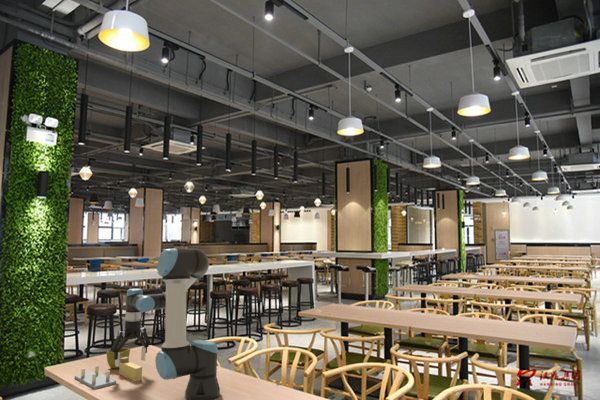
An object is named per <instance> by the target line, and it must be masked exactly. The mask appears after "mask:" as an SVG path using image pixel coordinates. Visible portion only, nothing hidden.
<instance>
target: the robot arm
mask: <svg viewBox="0 0 600 400" xmlns="http://www.w3.org/2000/svg"><path fill="white" fill-rule="evenodd" d="M209 266H210V260H209V257H208V255H207V254H206V252H204V250H201V249H199V248H193V247H192V248H181V247H180V248H166V249H164V250H162V252H161V253H160V254H159V257H158V259H157V264H156V270H157V273H158V276H160V277H162V278H161V279H162V281H163V283H165V291H164V293H158V294H157V293H156V294H155V293H154V294H143V293H144V292H143V289H142V288H129V289H127V291H126V299H125V300H126V301H125V318H124V320H125V321H124V331H121V330H119V331H118V332H117V336H116V338H115V340H114V342H113V344H112V346H111V348H110V349H109V350H110V351H111V352H114V359H115V366H117V367H119V362H120V353H119V351H120V349H121V348H124V345H125V344H126V343H127V342H128V341H129V340H134V339H137V340H138V341H139V343H141V345H142V346H141V355H140V360H141V361H144V362H145V361H146V354H147V353H148V348H149V346H151V345H152V342H151V339H150V338H149V335H148V333H147V328H146V327H143V326H142V327H141V325H142V323H141V322H142V320H141V319H142V313H148V312H151V311H153V310H154V311H155V310H163V309H165V325H164V326H165V329H164V330H165V331H164V332H165V335H164V342H163V343H162V344H161V345H160V346H161V349H160V351H158V352H157V353H156V354H155V355H156V356H155V360H154V361H155V367H156V371H157V373H158V375H159V377H160V378H162V379H163V380H166V381H167V380H175V379H177V378H181V377H185V376H189V379H188V383H187V384H186V388H185V391H184V398H185V399H186V400H214V399H215V400H216V399H218V398H219V396H221V395H220V393H221V388H220V385H219V380H218V377H217V375H218V373H217V372H218V371H217V370H218V354H219V352H218V345H217V343H215V342H213V341H210V340H204V339H203V340H201V339H199V340H197V339H195V340H192V341H191V342H189V341H188V340H187V290H188V289H190V287H191V286H192V285H194V283H195V282H196V281H197V280H198V279H201V278H202V277H203V276H205V274H206V273H207V272H208V269H209ZM140 333H141V334H142V335H140ZM142 336H143V338H142Z"/></svg>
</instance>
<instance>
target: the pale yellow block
mask: <svg viewBox="0 0 600 400" xmlns="http://www.w3.org/2000/svg"><path fill="white" fill-rule="evenodd" d="M118 374H119V375H121V376H122V377H124V378H127V379H129V380H131V381H134V382H137V381H141V380H143V367H142V366H140V365H138V364H136V363H133V362H130V357H129V358H128V357H123V358H120V365H119V369H118Z"/></svg>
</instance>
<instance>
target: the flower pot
mask: <svg viewBox="0 0 600 400" xmlns="http://www.w3.org/2000/svg"><path fill="white" fill-rule="evenodd" d="M110 350H111V349H109V350H106V361H107V365H108V366H109V368H111V369H118V370H119V367H117V366H115V359H114V352H111V351H110ZM130 352H131V348H125V347H122V348H121V349H120V351H119V353H120V358H123V357H128V358H129V359H130ZM119 365H120V362H119Z"/></svg>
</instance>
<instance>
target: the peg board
mask: <svg viewBox="0 0 600 400" xmlns="http://www.w3.org/2000/svg"><path fill="white" fill-rule="evenodd" d="M94 366H95V367H94V371H90V372H86V368H85V367H82V368H81V371H80V374H77V375H74V379H75V380H77V381H78V382H80V383H83V384H84V385H86V386H88V387H89V388H91V389H93V390H96V389H100V388H106V387H108V386H113V385H117V380H114V379H113V378H111V377H110V376H111V370H106V372H105V373H106V374H102V373H100V372H99V367H100V365H94Z"/></svg>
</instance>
